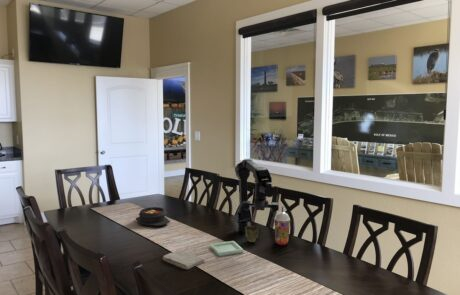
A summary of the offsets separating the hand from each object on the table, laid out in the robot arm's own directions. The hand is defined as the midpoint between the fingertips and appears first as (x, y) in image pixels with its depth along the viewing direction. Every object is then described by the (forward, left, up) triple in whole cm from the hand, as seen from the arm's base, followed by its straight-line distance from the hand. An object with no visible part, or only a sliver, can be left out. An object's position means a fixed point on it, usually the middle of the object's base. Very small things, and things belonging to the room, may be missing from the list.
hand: (260, 221), depth 192 cm
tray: (-1, -18, -13) cm, 23 cm away
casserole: (-60, -45, -13) cm, 77 cm away
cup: (-7, -1, -13) cm, 15 cm away
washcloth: (+4, -42, -14) cm, 45 cm away
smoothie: (+1, +13, -13) cm, 18 cm away
